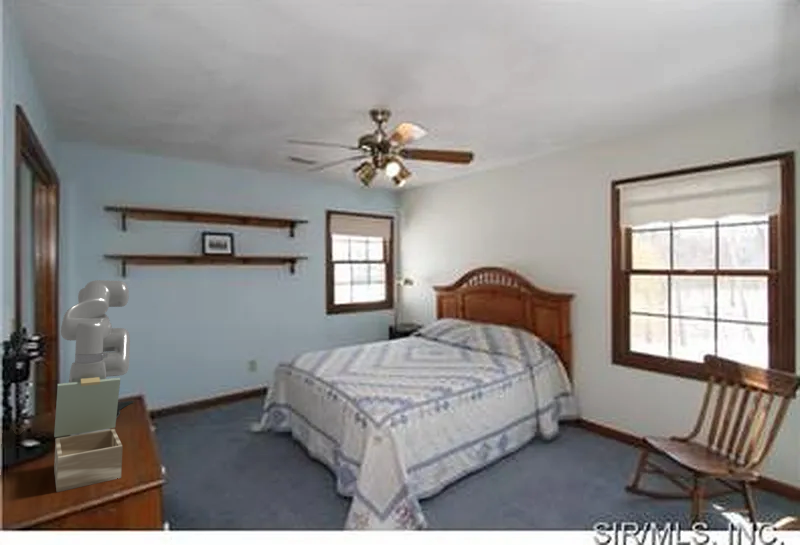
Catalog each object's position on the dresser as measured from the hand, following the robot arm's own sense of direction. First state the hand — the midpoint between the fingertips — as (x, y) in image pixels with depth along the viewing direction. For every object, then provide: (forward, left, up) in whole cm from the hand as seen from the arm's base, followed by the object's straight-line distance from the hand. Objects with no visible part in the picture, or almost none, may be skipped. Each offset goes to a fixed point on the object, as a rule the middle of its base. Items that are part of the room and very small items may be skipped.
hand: (86, 412), depth 148 cm
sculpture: (-53, +15, -17) cm, 58 cm away
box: (+10, 0, -17) cm, 19 cm away
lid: (+5, 0, +3) cm, 6 cm away
